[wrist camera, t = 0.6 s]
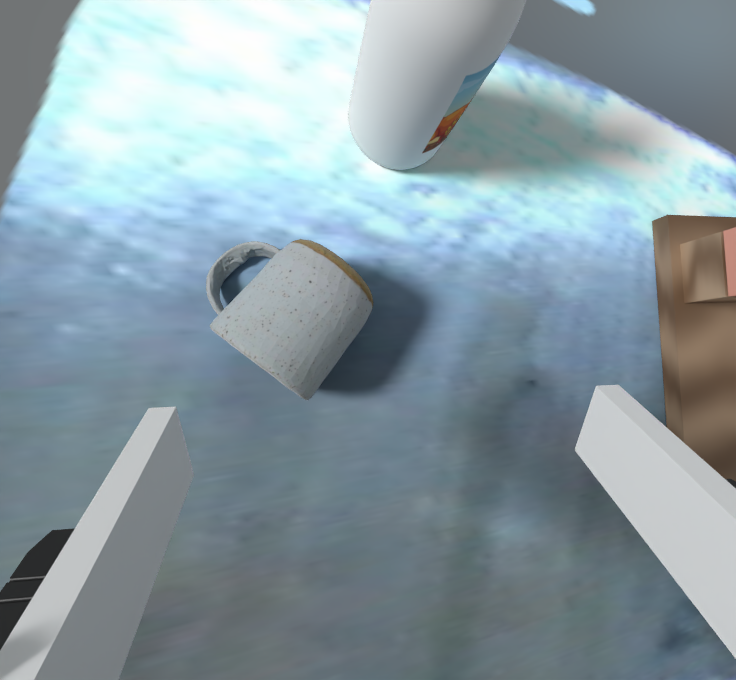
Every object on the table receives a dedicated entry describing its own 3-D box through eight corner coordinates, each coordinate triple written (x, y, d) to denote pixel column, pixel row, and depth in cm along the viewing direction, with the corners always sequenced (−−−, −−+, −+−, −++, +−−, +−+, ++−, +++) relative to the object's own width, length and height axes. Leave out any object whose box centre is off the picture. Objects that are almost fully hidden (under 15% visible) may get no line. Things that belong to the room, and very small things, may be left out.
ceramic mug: (371, 310, 31) (394, 291, 23) (306, 398, 29) (307, 409, 22) (257, 222, 30) (241, 173, 22) (184, 310, 28) (141, 289, 21)
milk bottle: (380, 190, 31) (524, -103, 12) (327, 102, 31) (383, -355, 11) (459, 146, 33) (708, -182, 13) (409, 62, 32) (588, -407, 13)
